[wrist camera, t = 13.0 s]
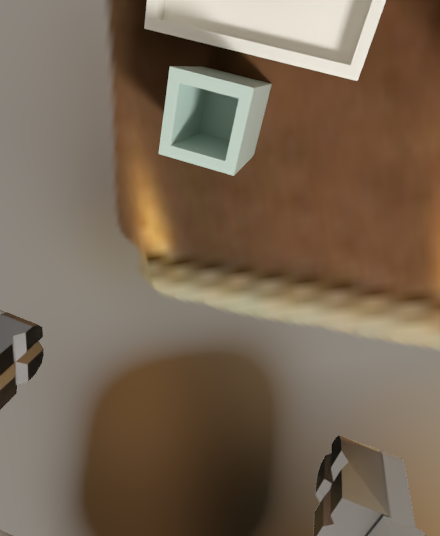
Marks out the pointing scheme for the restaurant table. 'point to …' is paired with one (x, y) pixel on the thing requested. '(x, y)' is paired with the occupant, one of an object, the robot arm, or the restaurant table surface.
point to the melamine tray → (277, 29)
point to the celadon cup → (212, 117)
